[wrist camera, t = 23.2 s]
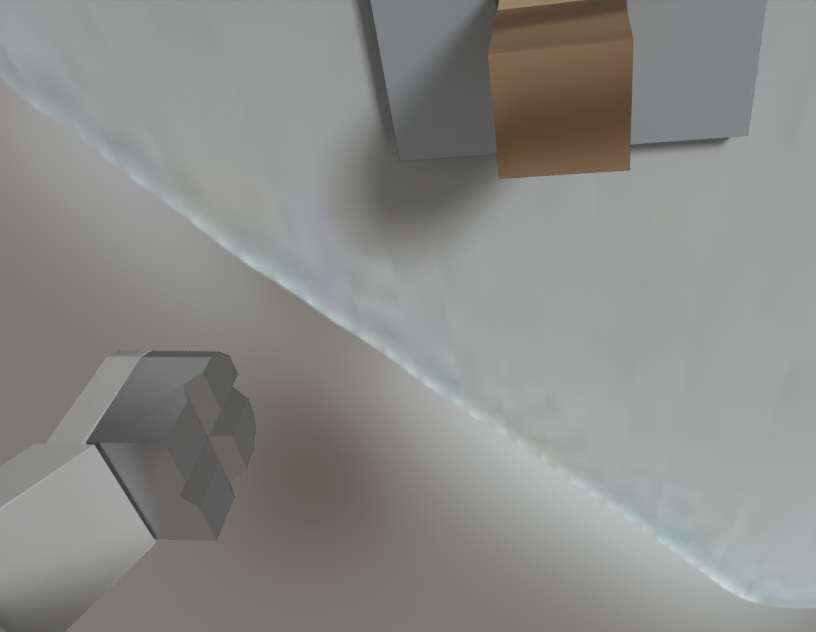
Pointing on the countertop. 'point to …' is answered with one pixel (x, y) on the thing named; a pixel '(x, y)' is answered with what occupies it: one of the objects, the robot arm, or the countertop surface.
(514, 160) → the walnut block
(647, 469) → the countertop surface
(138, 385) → the robot arm
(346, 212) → the countertop surface
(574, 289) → the countertop surface
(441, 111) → the board
